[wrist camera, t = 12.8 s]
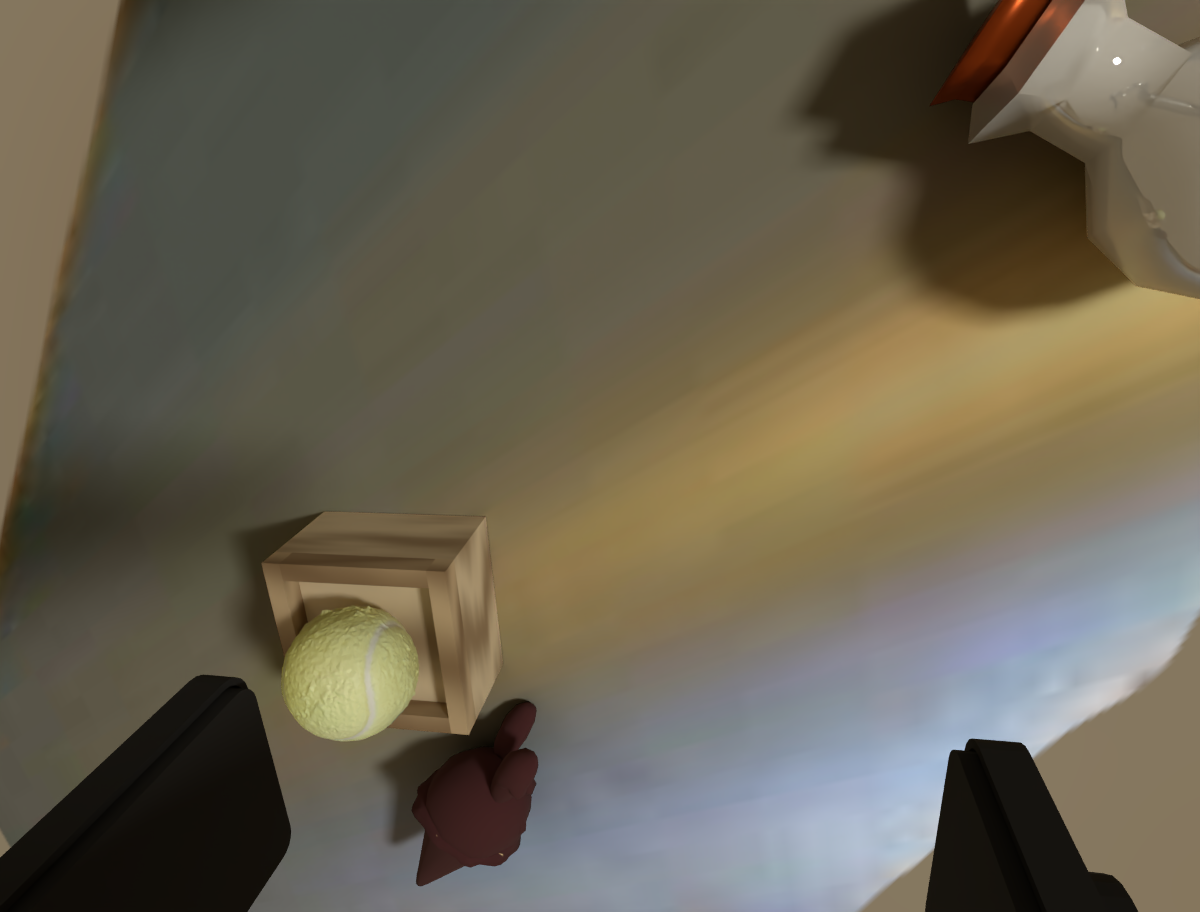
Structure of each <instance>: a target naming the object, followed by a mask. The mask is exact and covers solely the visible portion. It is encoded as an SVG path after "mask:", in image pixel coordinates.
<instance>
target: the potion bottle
mask: <svg viewBox="0 0 1200 912" xmlns="http://www.w3.org/2000/svg"><path fill="white" fill-rule="evenodd" d="M954 99H956V100H963V101H969V102H974V103H973V104H972V112H971V122H970V131H969V140H968V144H970V143H975V142H980V141H985V140H989V139H994V138H999V137H1004V136H1008V135H1013V134H1018V133H1022V132H1027V131H1031V132H1032V133H1034V134H1036V135H1038V136H1039V137H1041V138H1043V139H1044V140H1046V141H1048V142H1050V143H1051V144H1053V145H1055V146H1056V147H1058V148H1060V149H1062V150H1063V151H1065V152H1067V153H1069V154H1070V155H1072V156H1074V157H1075V158H1077V159H1079V160H1081V161H1082V162H1084V163H1085V186H1086V222H1087V238H1088V239H1089V240H1090V241H1091V242H1092V243H1093V244H1094V245H1095V246H1096V247H1097V248H1098V249H1099V250H1100V251H1101V252H1102V253H1103V254H1104V255H1105V256H1106V257H1107V258H1108V259H1109V260H1110V261H1111V262H1112V263H1113V264H1114V265H1115V266H1116V267H1117V268H1118V269H1119V270H1120V271H1121V272H1122V273H1123V274H1124V275H1125V276H1126V277H1127V278H1128V279H1129V280H1130V281H1131V282H1132V283H1133V284H1134V285H1135V286H1138V287H1143V288H1148V289H1153V290H1158V291H1163V292H1168V293H1172V294H1177V295H1182V296H1187V297H1192V298H1197V299H1200V37H1197V38H1195V39H1192V40H1190V41H1187V42H1184V43H1182V44H1179V45H1176V44H1174V43H1173V42H1171V41H1169V40H1167V39H1166V38H1164V37H1162V36H1160V35H1158V34H1157V33H1155V32H1153V31H1151V30H1150V29H1148V28H1146V27H1144V26H1142V25H1141V24H1139V23H1137V22H1135V21H1134V20H1132V19H1130V18H1128V16H1127V10H1126V4H1125V0H999V1H998V3H997V4H996V5H995V7H994V8H993V10H992V11H991V13H990V14H989V15H988V17H987V18H986V20H985V21H984V23H983V24H982V26H981V27H980V28H979V30H978V31H977V33H976V34H975V36H974V37H973V39H972V40H971V42H970V43H969V45H968V46H967V48H966V49H965V51H964V53H963V54H962V56H961V57H960V59H959V60H958V62H957V64H956V65H955V67H954V68H953V70H952V71H951V73H950V74H949V76H948V78H947V79H946V81H945V82H944V84H943V85H942V87H941V89H940V90H939V92H938V93H937V95H936V96H935V98H934V99H933V101H932V103H931V104H930V106H932V105H936V104H940V103H943V102H947V101H951V100H954Z"/></svg>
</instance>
